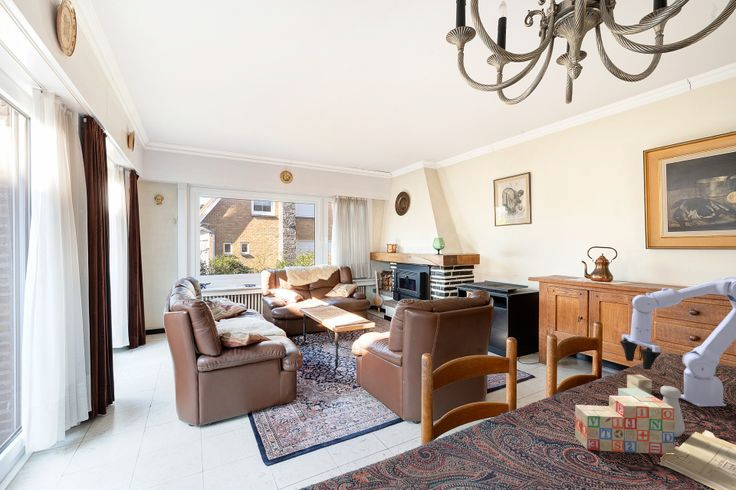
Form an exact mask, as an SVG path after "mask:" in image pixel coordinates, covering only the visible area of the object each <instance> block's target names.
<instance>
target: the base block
mask: <svg viewBox="0 0 736 490" xmlns="http://www.w3.org/2000/svg"><path fill="white" fill-rule="evenodd" d="M617 393H618V394H617V396H632V397H633V396H644V397H655V396H654V395H652V394H648V393H646V392H644V391H642V390H640V389H639V388H627V387H625V388H624V387H621V388H619V387H618V388H617Z"/></svg>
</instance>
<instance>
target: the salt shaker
mask: <svg viewBox="0 0 736 490" xmlns="http://www.w3.org/2000/svg"><path fill="white" fill-rule="evenodd" d="M659 389H660V390H659V391H660V393H661V395H662V396H663V397H662V400H661V401H663V402H664V403H666V404H668V405H670V406H671V407H673V408H674V420H675V432H674V438H678V437H682V435H683V434H684V432H685V430H686V427H685V426H686V425H685V422H684V417H683V414H682V409H681V406H680V401H679V399H681V398H680V397H681V395H682V392H681V390H680V389H679V388H676V387H674V386H670V385H662V386H661V387H660V388H659Z"/></svg>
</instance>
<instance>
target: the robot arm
mask: <svg viewBox="0 0 736 490" xmlns="http://www.w3.org/2000/svg"><path fill="white" fill-rule="evenodd" d="M709 294H710V295H711V294H715V295H721V296H725V297H726V298H727V299H728V300H729V303H730V304H731V307H732V309H731V310H730V312H729V313H728V314H727V315H726V316H725V318H723V320H722V321H720V323H719V324H718V325H717V326H716V328H715V329H713V331H712V332H711V333H710V334H709V336H708V337H707V338H706V339H705V340H704V341H703V343H702V344H701V345H698V346H696V347H694V348H693V349H692V350H691V351H689V352H687V353H684V354H683V356H682V358H681V360H682V364H683V365H684V366H685V367H686V368H685V369H684V370H683V394H682V393H681V397H680V398H679V399H682V400H684V401H686V402H689V403H691V404H693V405H695V406H697V407H726V406H727V404H726V403H724V385H723V383H722V381H721V379H719V377H717V376H716V375H715V374H716V369H717V367H718V365H719V364H720V360H721V359H720V358H721V355H722V354H724V353H725V352H726V350H727V349H728V348H729V347H730V346H731V345H732V344H733V343H734V341H736V277H735V276H734V277H733V276H732V277H731V276H730V277H725V278H719V279H718V278H717V279H714V280H710V281H706V282H702V283H699V284H695V285H692V286H688V287H684V288H681V289H678V290H677V289H673V288H670V287H669V288H667V287H663V288H661V290H658V291H654V292H651V293H650V292H646V293H645V294H644V295H643V294H638V295H636V296H634V297H633V298H632V300H631V305H632V307H633V308H632V314H631V325H630V334H627V333H622V334H621V340H620V341H619V343H620V345H621V347H622V349H623V351H624V355H625V360H626V361H627V362H634V358H635V352H636V349H637V347H638V346H640V347H643V348H640V351H641V356H642V368H643V369H644V370H648V371H649V370H650V371H651V370H652V367H653V365H654V363H655V361H656V359H657V358H659V356H660V355H662V354H661V353H662V352H661V346H659V345H656V344H655V343H653V342H652V341H651V339H652V336H651V335H652V325H653V312H654V311H655V310H656V309H657V310H658V309H662V308H667V307H671V306H672V307H673V306H676V305H679V304H680V303H681V301H682V300H686V299H690V298H694V297H695V298H696V297H699V296H705V295H709Z"/></svg>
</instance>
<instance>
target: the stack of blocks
mask: <svg viewBox="0 0 736 490" xmlns="http://www.w3.org/2000/svg"><path fill="white" fill-rule="evenodd" d="M608 396H609V397H608V405H607V406H606V405H589V404H587V405H585V404H575V406H574V408H575V411H574V413H575V415H574V429H575V430H574V433H575V434H574V436H575V438H576V439H577V440H578V442H580V444H581V445H582V446H583V447H584V448H585V449H586V450H589V451H601V452H618V453H638V454H652V455H653V454H655V455H657V454H658V455H667V454H666V453H674V452H675V450H676V449H675V446H676V445H675V437H674V432H675V420H674V408H673V407H671V406H670V405H668V404H666V403H664V402H663V401H662V400H661V399H659V398H657V397H656V396H654V397H644V396H633V397H632V396H618V395H608Z"/></svg>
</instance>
